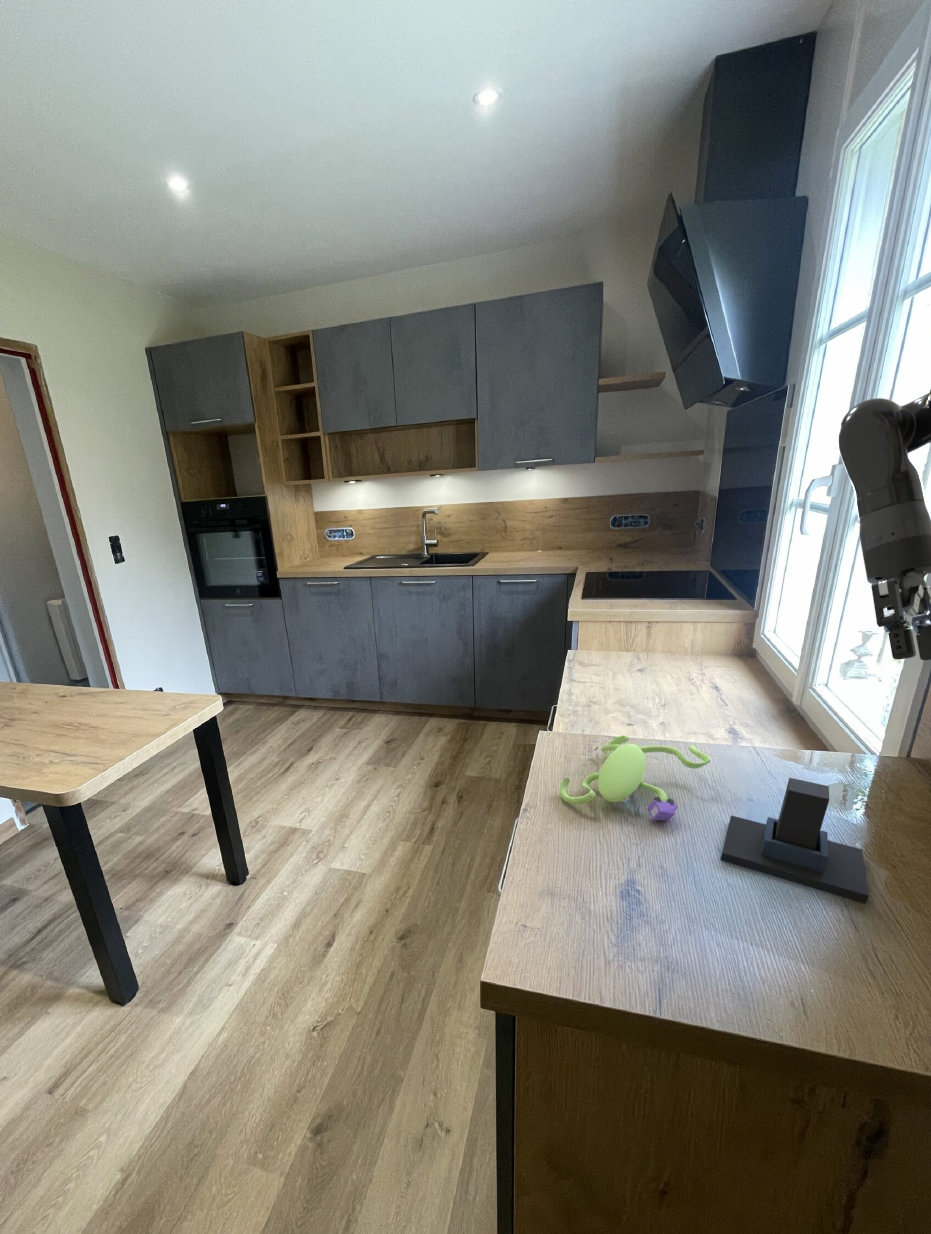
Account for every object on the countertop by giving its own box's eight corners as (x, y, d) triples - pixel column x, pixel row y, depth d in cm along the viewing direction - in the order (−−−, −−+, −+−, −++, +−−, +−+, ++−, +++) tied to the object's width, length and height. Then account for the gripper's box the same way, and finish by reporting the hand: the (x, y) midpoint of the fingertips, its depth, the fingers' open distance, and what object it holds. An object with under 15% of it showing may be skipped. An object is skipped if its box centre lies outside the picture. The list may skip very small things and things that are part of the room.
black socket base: (860, 856, 77) (867, 834, 75) (865, 903, 68) (874, 879, 67) (729, 821, 85) (734, 801, 84) (720, 859, 77) (725, 837, 76)
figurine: (713, 773, 99) (719, 745, 97) (663, 842, 81) (669, 809, 79) (612, 745, 111) (616, 719, 109) (549, 800, 92) (551, 771, 90)
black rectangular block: (810, 848, 77) (828, 785, 73) (810, 863, 74) (829, 799, 70) (773, 838, 79) (789, 777, 76) (771, 852, 76) (788, 790, 72)
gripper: (909, 525, 69) (933, 652, 67) (954, 538, 76) (977, 654, 74) (840, 548, 76) (860, 664, 74) (887, 558, 82) (906, 664, 81)
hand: (918, 659), depth 74 cm, fingers open, 8 cm apart
